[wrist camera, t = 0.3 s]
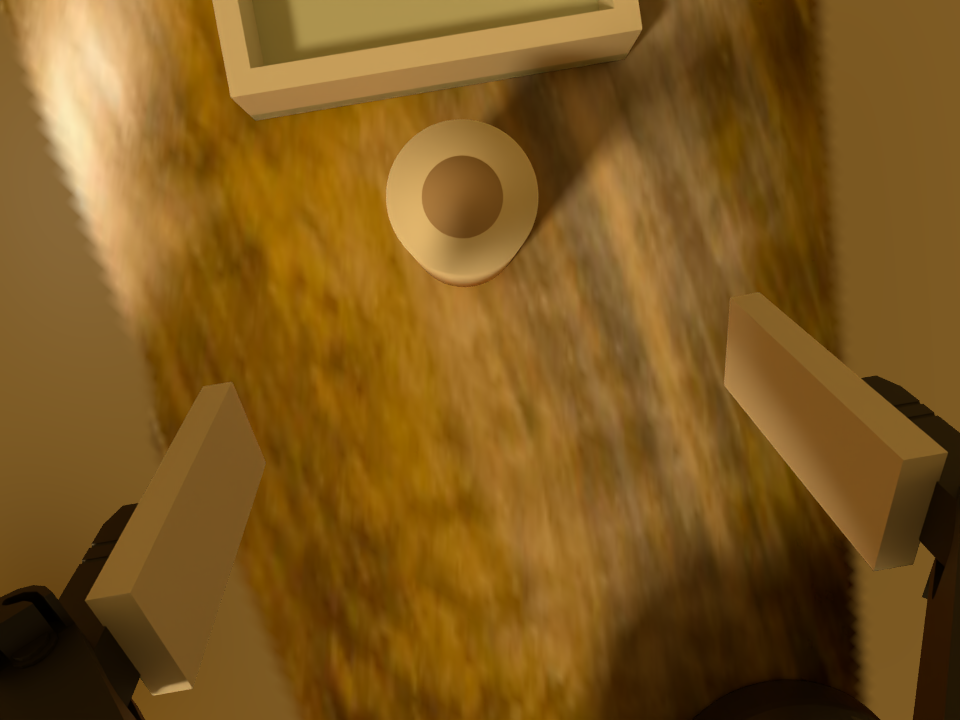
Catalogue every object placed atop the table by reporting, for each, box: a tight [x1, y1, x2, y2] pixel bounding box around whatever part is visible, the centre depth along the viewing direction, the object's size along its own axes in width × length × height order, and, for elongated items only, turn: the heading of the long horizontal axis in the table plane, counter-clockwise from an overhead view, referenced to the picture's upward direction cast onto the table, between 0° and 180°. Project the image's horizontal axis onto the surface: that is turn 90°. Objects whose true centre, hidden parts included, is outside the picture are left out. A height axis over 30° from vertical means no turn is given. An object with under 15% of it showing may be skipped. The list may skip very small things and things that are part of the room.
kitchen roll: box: [386, 119, 539, 287], centre depth 29 cm, size 6×6×10 cm
